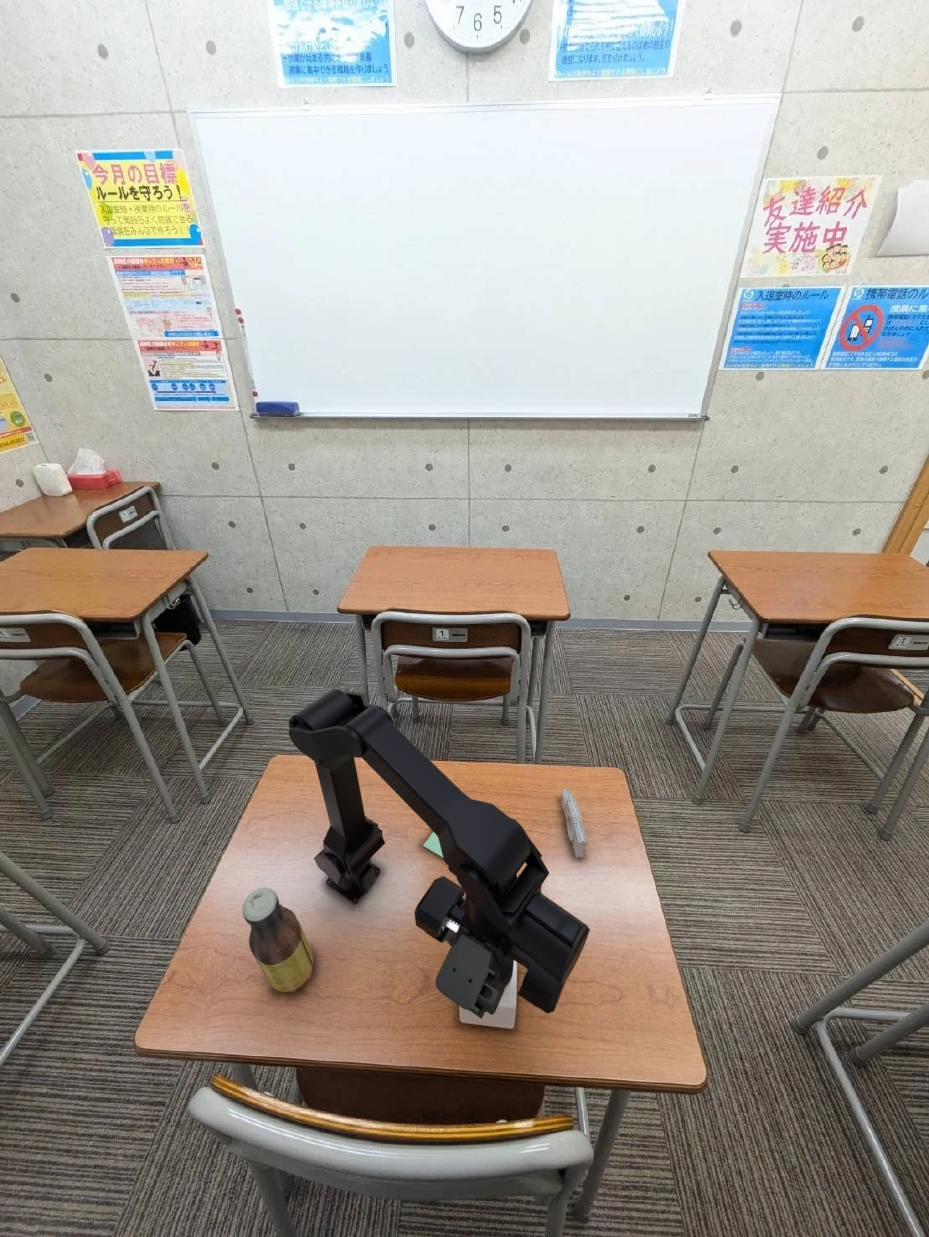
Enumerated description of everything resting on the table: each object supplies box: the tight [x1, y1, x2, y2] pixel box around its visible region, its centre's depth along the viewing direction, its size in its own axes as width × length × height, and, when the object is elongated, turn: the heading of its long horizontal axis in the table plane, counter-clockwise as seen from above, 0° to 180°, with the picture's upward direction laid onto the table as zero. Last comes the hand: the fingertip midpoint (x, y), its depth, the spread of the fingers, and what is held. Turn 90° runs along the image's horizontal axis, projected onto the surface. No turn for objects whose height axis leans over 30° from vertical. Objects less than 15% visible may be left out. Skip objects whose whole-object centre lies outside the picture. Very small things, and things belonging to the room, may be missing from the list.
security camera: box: [458, 956, 518, 1030], centre depth 67 cm, size 7×7×12 cm
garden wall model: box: [560, 788, 589, 859], centre depth 90 cm, size 12×2×6 cm, turn 3°
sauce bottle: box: [241, 886, 315, 995], centre depth 68 cm, size 7×6×20 cm
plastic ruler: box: [423, 831, 443, 859], centre depth 87 cm, size 15×3×1 cm, turn 58°
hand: (489, 970), depth 66 cm, fingers open, 9 cm apart
